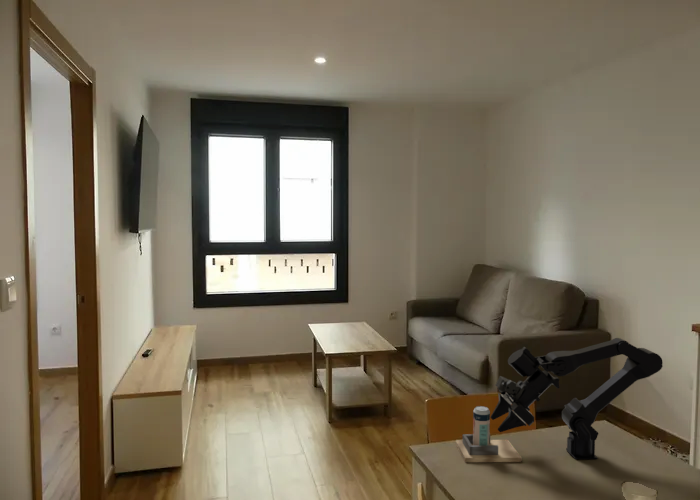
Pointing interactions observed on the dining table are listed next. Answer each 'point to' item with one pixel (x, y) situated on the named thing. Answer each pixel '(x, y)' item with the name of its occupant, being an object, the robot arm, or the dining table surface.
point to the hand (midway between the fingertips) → (495, 424)
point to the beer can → (481, 426)
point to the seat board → (487, 451)
